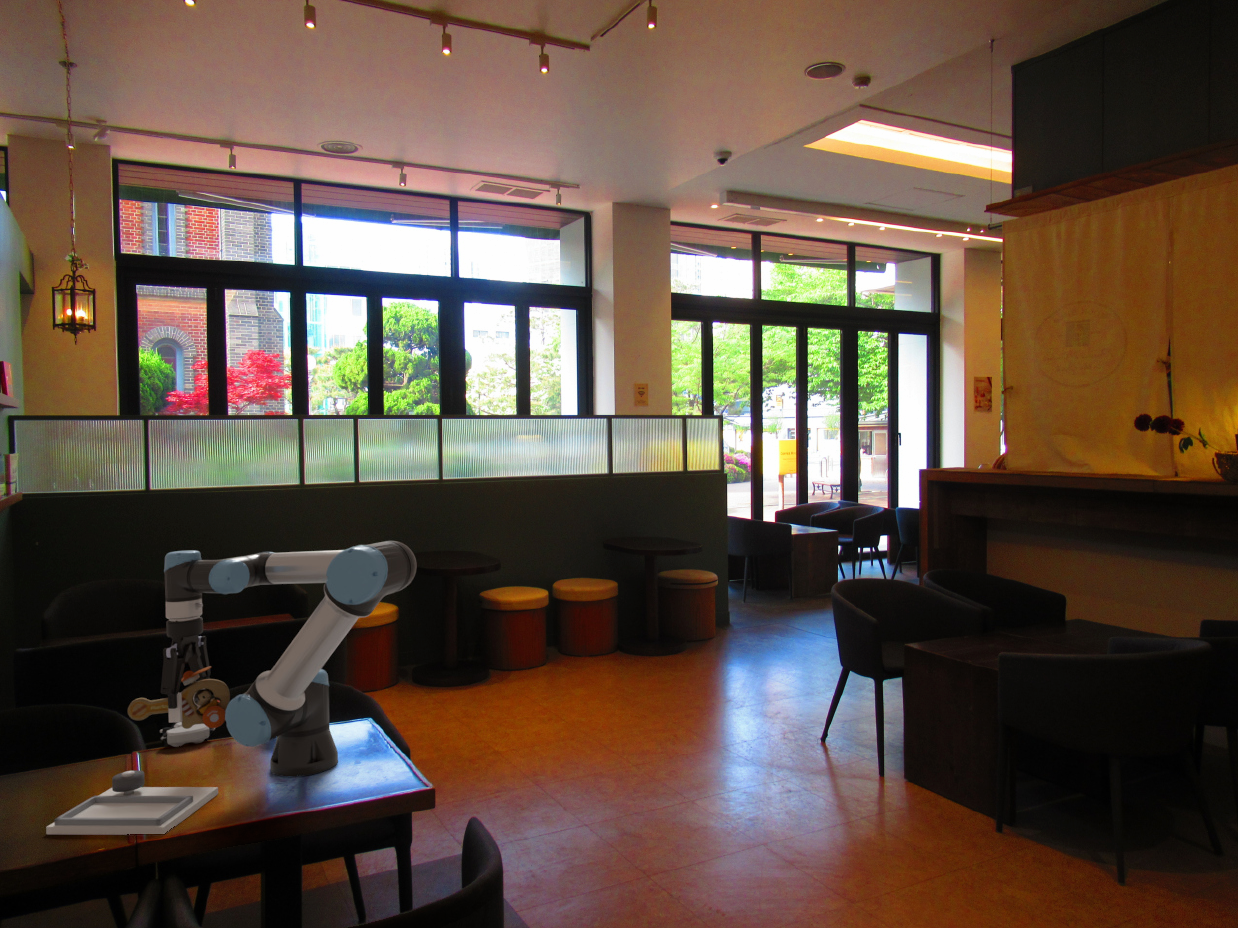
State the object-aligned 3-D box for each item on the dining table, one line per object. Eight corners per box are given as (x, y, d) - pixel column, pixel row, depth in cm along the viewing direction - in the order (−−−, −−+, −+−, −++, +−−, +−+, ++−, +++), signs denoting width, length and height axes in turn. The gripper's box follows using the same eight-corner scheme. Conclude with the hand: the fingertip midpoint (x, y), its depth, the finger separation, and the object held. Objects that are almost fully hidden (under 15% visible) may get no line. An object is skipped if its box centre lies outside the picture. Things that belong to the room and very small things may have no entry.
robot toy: (157, 741, 224) (162, 753, 212) (157, 724, 224) (162, 734, 212) (208, 732, 231) (216, 743, 218) (207, 715, 231) (215, 725, 219)
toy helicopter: (231, 726, 194) (229, 666, 194) (127, 741, 185) (125, 679, 185) (229, 716, 201) (228, 659, 201) (129, 731, 192) (127, 671, 192)
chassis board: (218, 793, 185) (217, 780, 185) (164, 834, 165) (163, 819, 165) (112, 793, 186) (112, 780, 186) (46, 834, 166) (46, 819, 166)
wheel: (150, 781, 185) (150, 767, 185) (133, 791, 179) (132, 777, 179) (124, 781, 185) (123, 767, 185) (106, 791, 179) (105, 777, 179)
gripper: (172, 627, 183) (176, 730, 183) (224, 609, 205) (227, 701, 205) (139, 627, 184) (142, 730, 184) (195, 609, 205) (198, 701, 205)
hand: (187, 715), depth 194 cm, fingers closed on toy helicopter, 9 cm apart
